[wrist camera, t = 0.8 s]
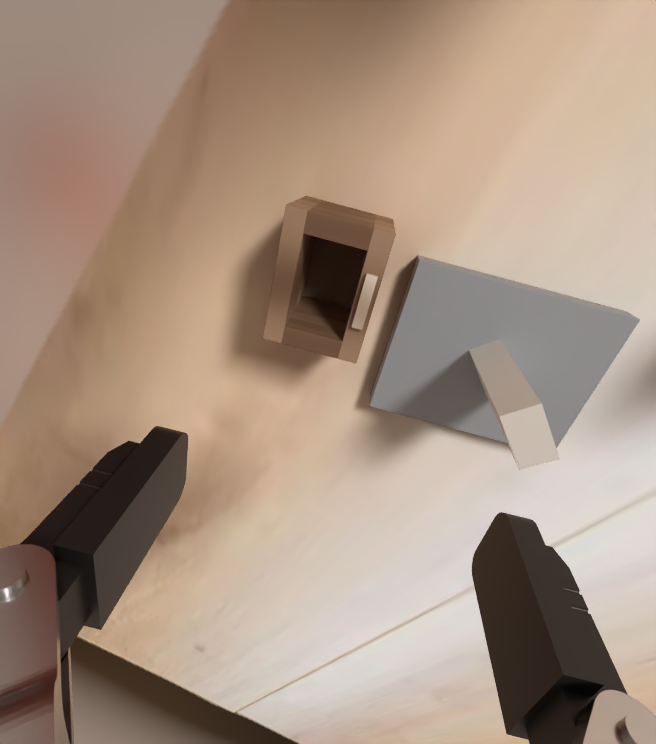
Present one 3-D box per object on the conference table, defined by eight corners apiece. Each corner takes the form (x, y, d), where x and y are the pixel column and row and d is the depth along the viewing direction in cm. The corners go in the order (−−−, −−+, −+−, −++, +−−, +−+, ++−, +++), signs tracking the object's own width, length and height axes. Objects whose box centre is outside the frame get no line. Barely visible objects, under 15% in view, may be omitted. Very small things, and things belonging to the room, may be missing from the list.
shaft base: (417, 255, 26) (434, 299, 18) (627, 311, 26) (742, 382, 18) (370, 395, 31) (365, 481, 23) (544, 442, 31) (603, 544, 23)
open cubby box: (306, 195, 25) (284, 205, 20) (393, 219, 25) (395, 235, 20) (285, 306, 29) (261, 340, 23) (361, 326, 29) (355, 365, 23)
